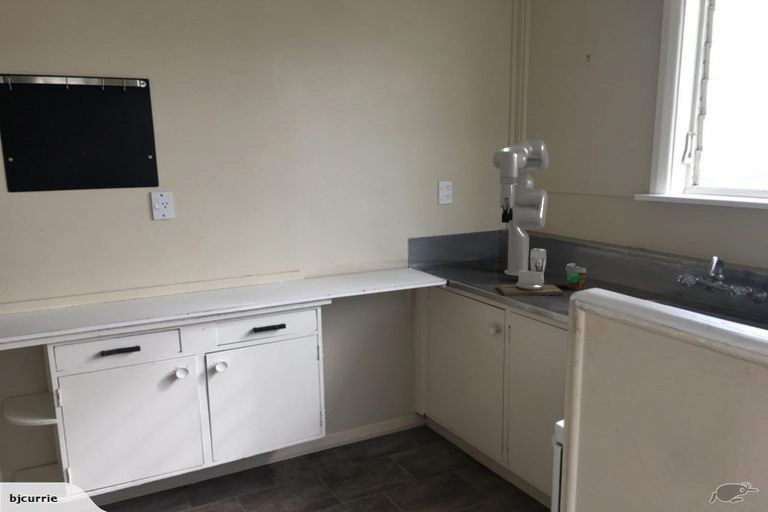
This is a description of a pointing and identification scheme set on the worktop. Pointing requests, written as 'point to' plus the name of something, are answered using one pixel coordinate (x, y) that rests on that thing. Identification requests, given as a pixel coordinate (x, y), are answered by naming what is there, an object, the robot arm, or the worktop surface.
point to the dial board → (514, 291)
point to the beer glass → (538, 261)
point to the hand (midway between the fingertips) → (507, 221)
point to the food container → (575, 276)
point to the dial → (530, 280)
